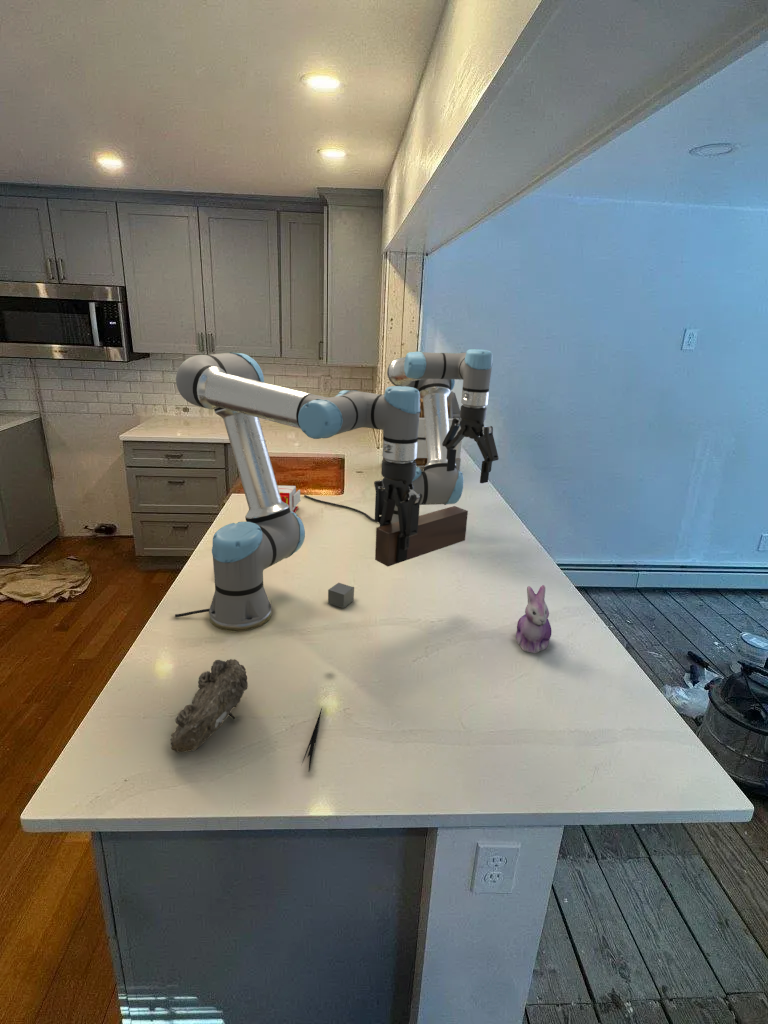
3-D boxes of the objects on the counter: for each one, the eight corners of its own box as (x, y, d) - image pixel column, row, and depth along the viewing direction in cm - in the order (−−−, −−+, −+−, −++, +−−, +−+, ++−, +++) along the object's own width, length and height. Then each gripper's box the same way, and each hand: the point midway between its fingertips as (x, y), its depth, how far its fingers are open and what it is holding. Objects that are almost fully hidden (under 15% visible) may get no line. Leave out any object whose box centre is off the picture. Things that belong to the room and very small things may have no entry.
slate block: (327, 603, 151) (328, 589, 150) (338, 595, 156) (338, 582, 154) (343, 608, 149) (343, 594, 148) (353, 600, 153) (354, 587, 152)
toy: (302, 480, 222) (292, 494, 192) (302, 514, 224) (292, 532, 195) (271, 480, 221) (256, 493, 192) (271, 513, 224) (256, 531, 195)
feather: (331, 679, 122) (336, 673, 122) (307, 777, 96) (313, 769, 95) (324, 675, 122) (329, 669, 121) (298, 772, 95) (304, 764, 95)
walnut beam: (375, 559, 131) (376, 527, 128) (452, 534, 147) (454, 505, 144) (387, 566, 128) (389, 533, 125) (465, 540, 144) (467, 510, 141)
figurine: (532, 659, 131) (541, 601, 125) (504, 636, 139) (511, 581, 134) (562, 649, 135) (572, 593, 130) (533, 628, 143) (541, 575, 138)
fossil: (195, 660, 117) (247, 628, 112) (227, 691, 120) (279, 661, 115) (146, 746, 98) (206, 711, 93) (185, 779, 101) (245, 748, 96)
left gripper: (360, 453, 127) (357, 548, 135) (414, 471, 115) (407, 575, 123) (385, 449, 132) (381, 541, 140) (440, 466, 120) (432, 566, 127)
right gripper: (434, 399, 169) (429, 467, 177) (499, 414, 151) (490, 489, 159) (452, 397, 174) (446, 464, 181) (517, 412, 156) (507, 485, 163)
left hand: (393, 557), depth 131 cm, fingers closed on walnut beam, 4 cm apart
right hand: (466, 476), depth 170 cm, fingers open, 13 cm apart
